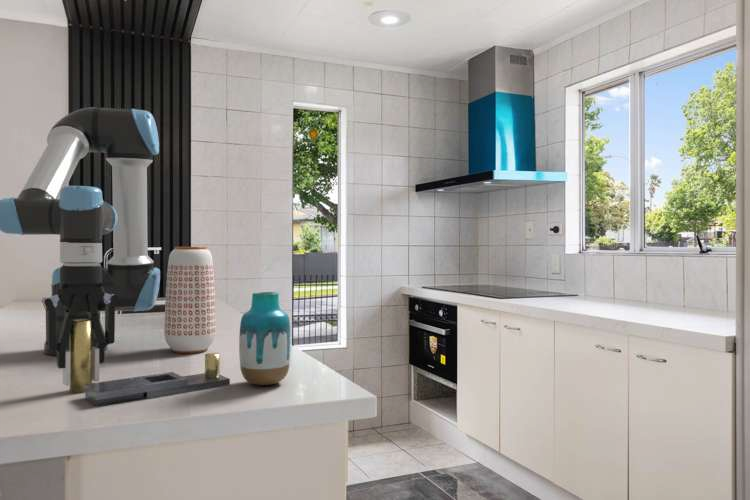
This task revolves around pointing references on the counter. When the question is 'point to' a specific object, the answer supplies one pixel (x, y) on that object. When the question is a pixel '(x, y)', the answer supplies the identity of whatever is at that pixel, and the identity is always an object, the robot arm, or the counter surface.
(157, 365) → the counter surface
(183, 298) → the vase
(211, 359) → the grey slide latch
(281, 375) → the vase
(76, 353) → the pin
